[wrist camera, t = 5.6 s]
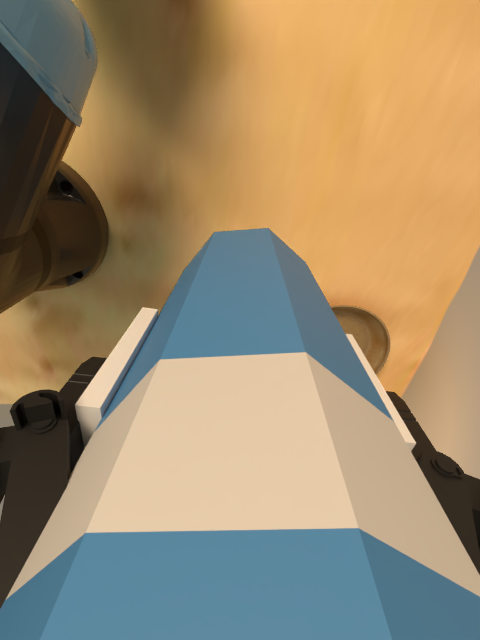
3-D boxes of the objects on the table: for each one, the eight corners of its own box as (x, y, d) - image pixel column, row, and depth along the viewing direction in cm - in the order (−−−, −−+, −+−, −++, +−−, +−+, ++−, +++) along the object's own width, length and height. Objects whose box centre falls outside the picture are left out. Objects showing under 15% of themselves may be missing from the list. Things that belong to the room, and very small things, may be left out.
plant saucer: (354, 275, 37) (361, 283, 35) (399, 353, 43) (407, 364, 40) (258, 333, 42) (259, 343, 39) (310, 396, 47) (313, 408, 45)
